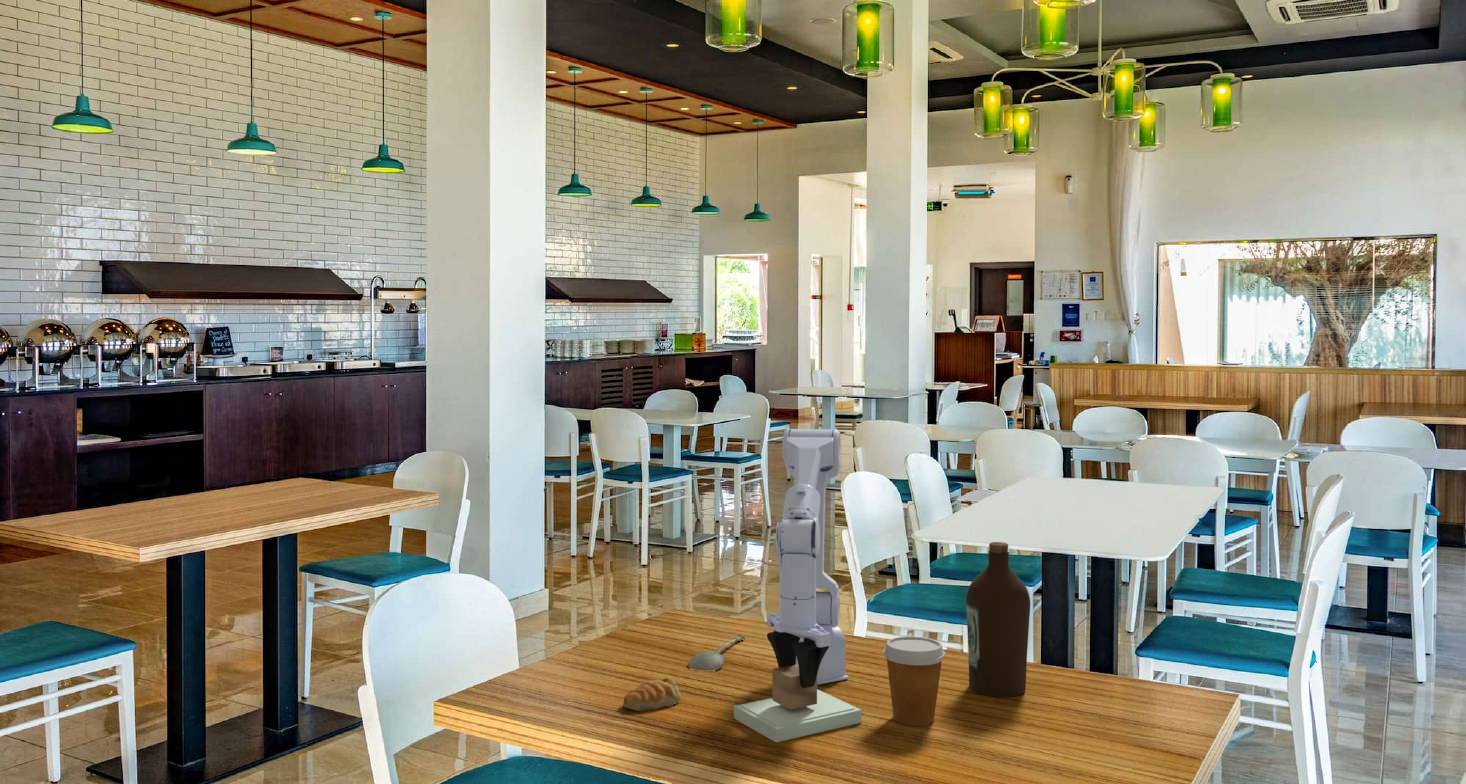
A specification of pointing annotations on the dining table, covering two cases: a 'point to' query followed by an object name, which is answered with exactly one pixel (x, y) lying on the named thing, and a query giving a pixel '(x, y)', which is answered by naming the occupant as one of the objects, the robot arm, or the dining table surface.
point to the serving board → (797, 717)
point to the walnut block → (791, 688)
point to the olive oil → (997, 627)
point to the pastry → (653, 695)
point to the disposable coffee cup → (914, 678)
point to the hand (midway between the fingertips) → (797, 681)
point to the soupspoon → (711, 658)
